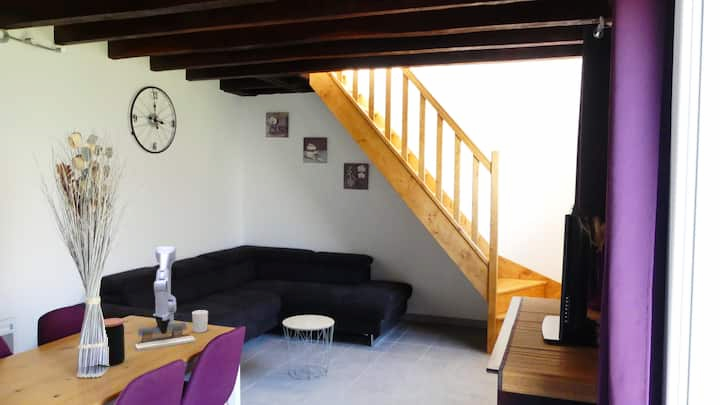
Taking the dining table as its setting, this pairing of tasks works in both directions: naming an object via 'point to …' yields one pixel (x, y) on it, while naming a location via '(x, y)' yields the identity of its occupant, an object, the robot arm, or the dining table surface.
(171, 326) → the rail
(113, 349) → the coffee jar
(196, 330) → the white cup
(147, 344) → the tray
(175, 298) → the robot arm
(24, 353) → the dining table surface
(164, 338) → the rack
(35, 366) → the dining table surface
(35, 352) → the dining table surface
